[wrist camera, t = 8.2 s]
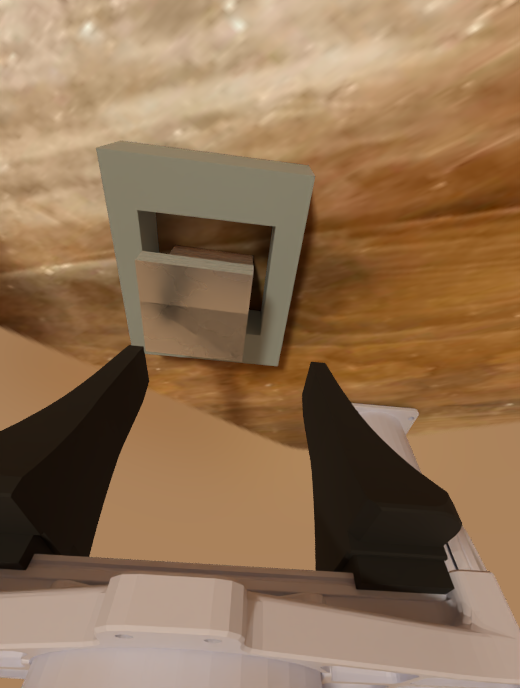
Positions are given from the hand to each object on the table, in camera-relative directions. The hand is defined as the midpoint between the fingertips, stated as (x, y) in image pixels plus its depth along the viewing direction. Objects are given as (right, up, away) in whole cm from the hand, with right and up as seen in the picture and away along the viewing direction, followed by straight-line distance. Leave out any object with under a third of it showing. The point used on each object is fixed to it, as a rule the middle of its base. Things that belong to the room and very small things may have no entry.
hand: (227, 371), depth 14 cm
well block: (-2, +7, +7) cm, 10 cm away
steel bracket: (-2, +7, +7) cm, 10 cm away
